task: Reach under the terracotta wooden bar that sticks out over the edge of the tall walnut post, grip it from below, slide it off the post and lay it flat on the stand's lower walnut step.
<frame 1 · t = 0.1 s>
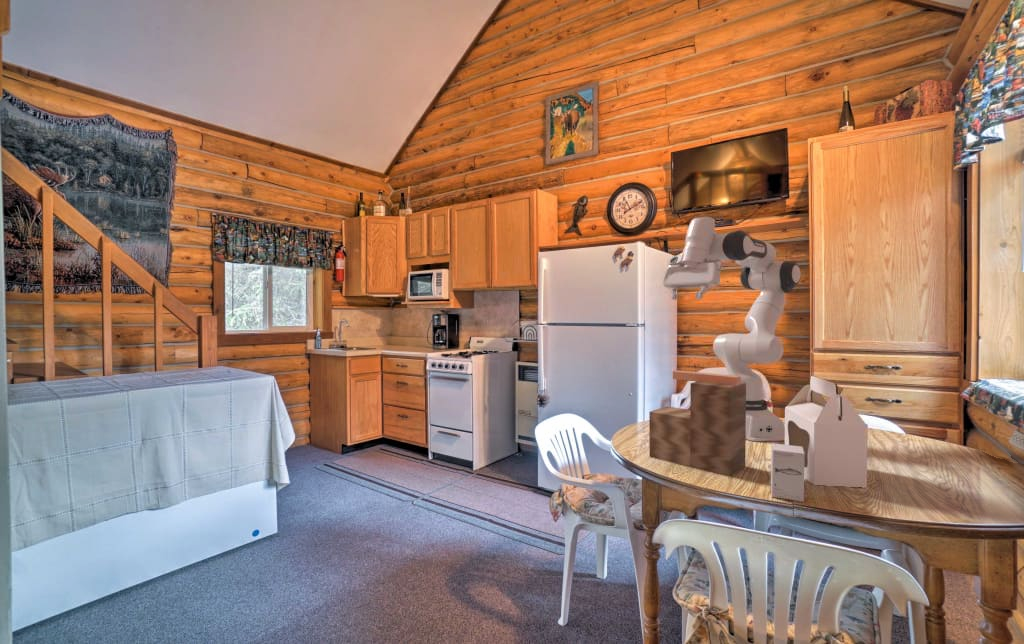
hand: (686, 299, 161), 52 cm above the table, tool tilted 20°, fingers open, 8 cm apart
stepped stand: (698, 462, 151), on the table
supplement box: (786, 496, 125), on the table
gable box: (822, 474, 141), on the table
bar: (705, 381, 149), point 26 cm above the table, touching stepped stand
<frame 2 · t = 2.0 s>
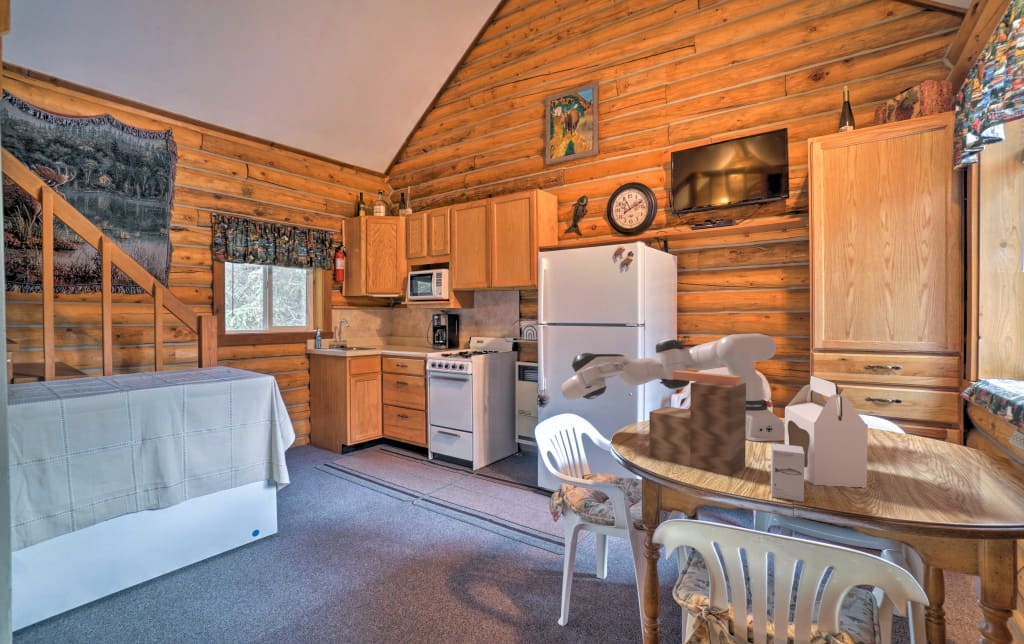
hand: (620, 363, 174), 29 cm above the table, tool pointing upward, fingers open, 8 cm apart
nothing on the table moved.
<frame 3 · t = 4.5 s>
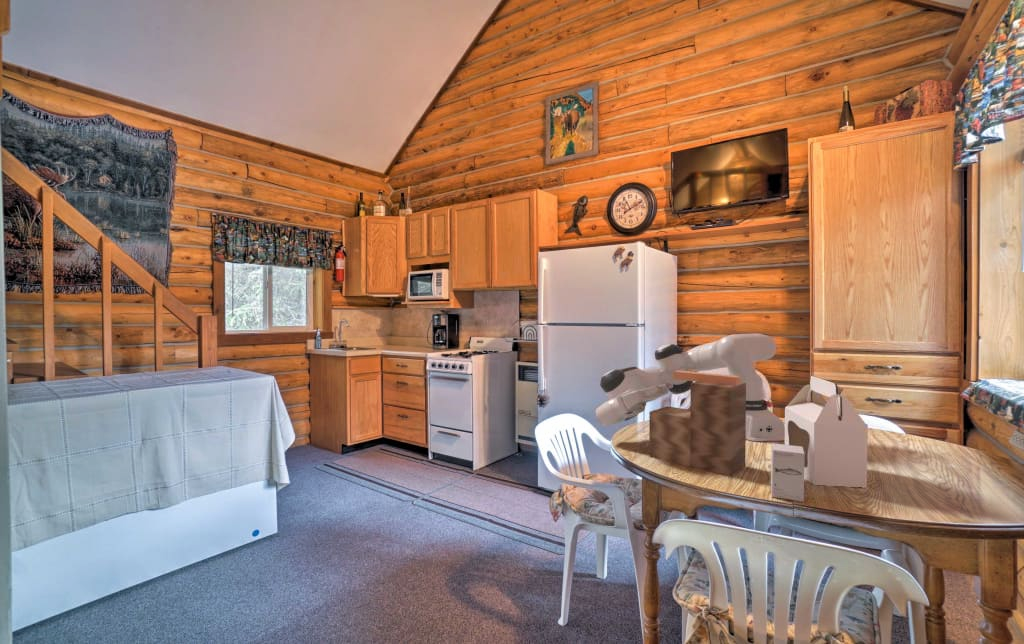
hand: (664, 386, 159), 23 cm above the table, tool pointing upward, fingers open, 8 cm apart
nothing on the table moved.
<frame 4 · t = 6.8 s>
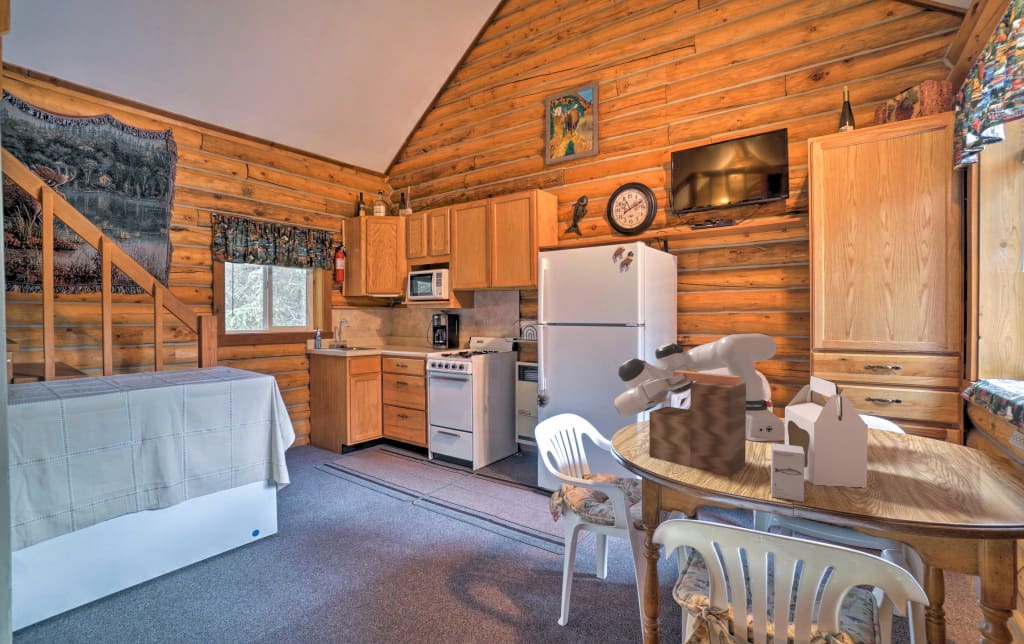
hand: (687, 374, 153), 28 cm above the table, tool pointing upward, fingers closed on bar, 3 cm apart
bar: (705, 381, 149), point 26 cm above the table, touching gripper
everything else where it was.
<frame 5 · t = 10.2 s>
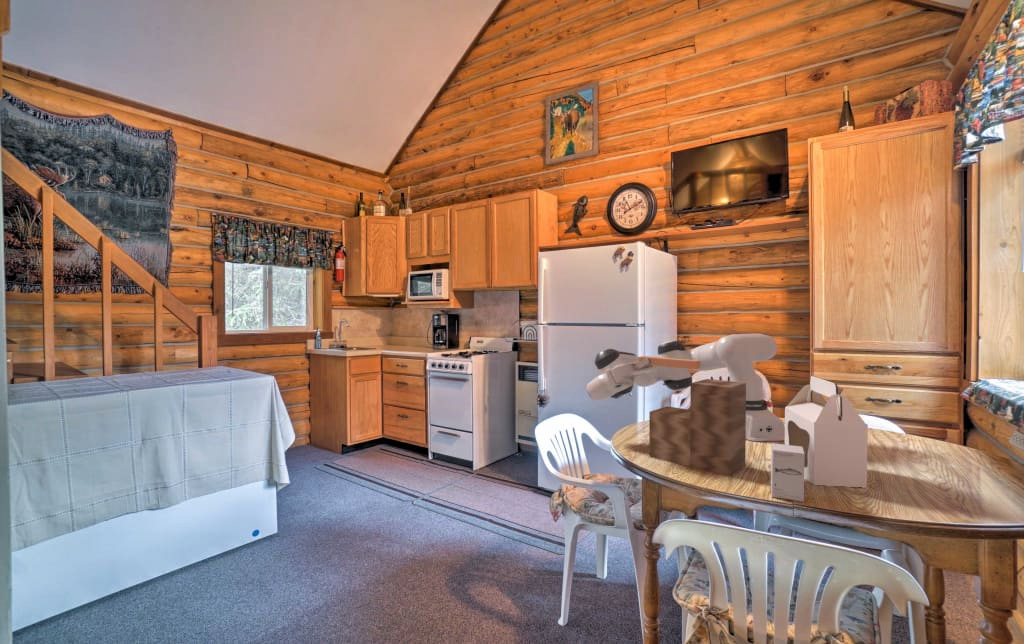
hand: (652, 359, 162), 32 cm above the table, tool pointing upward, fingers closed on bar, 3 cm apart
bar: (668, 366, 158), point 30 cm above the table, touching gripper
everything else where it was.
when the fingers open (19 cm above the table, at t = 13.4 s): bar drops 2 cm, resting on stepped stand.
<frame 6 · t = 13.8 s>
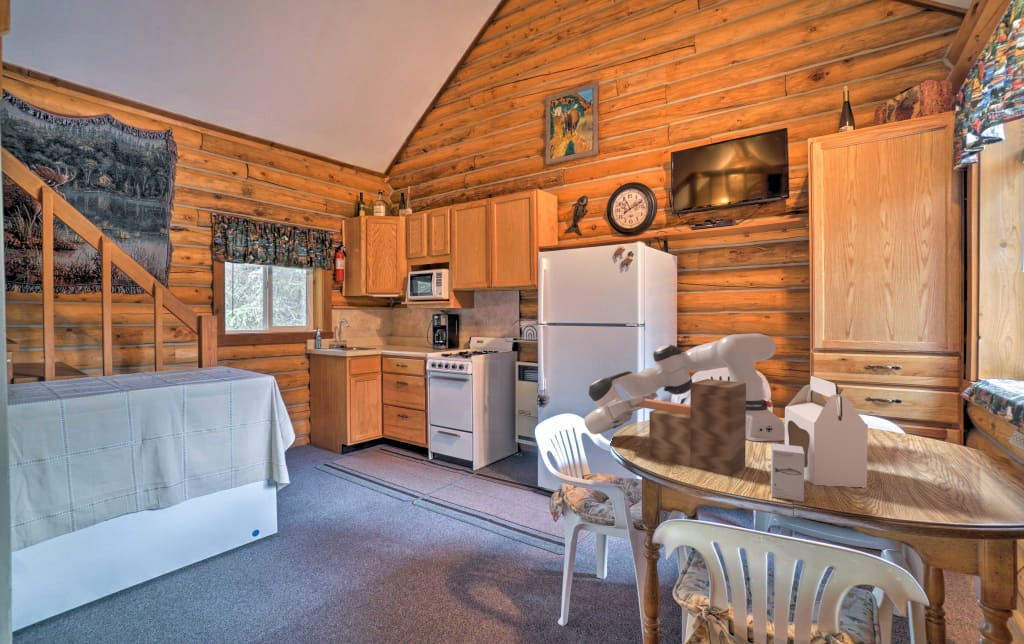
hand: (649, 396, 163), 19 cm above the table, tool pointing upward, fingers open, 7 cm apart
bar: (665, 409, 159), point 15 cm above the table, touching stepped stand
everything else where it was.
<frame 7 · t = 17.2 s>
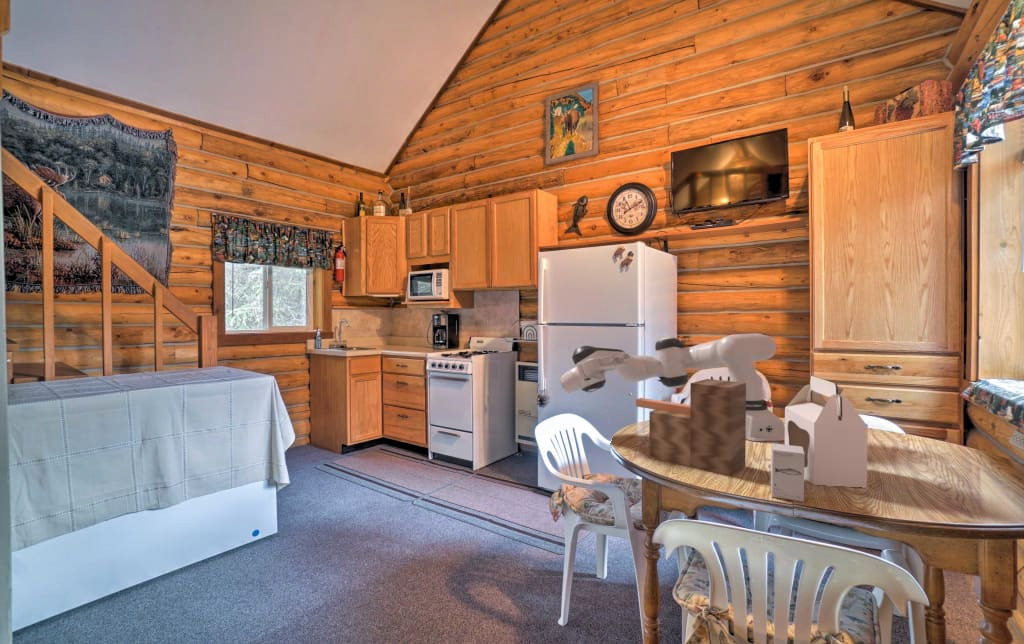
hand: (620, 356, 172), 32 cm above the table, tool pointing upward, fingers open, 8 cm apart
nothing on the table moved.
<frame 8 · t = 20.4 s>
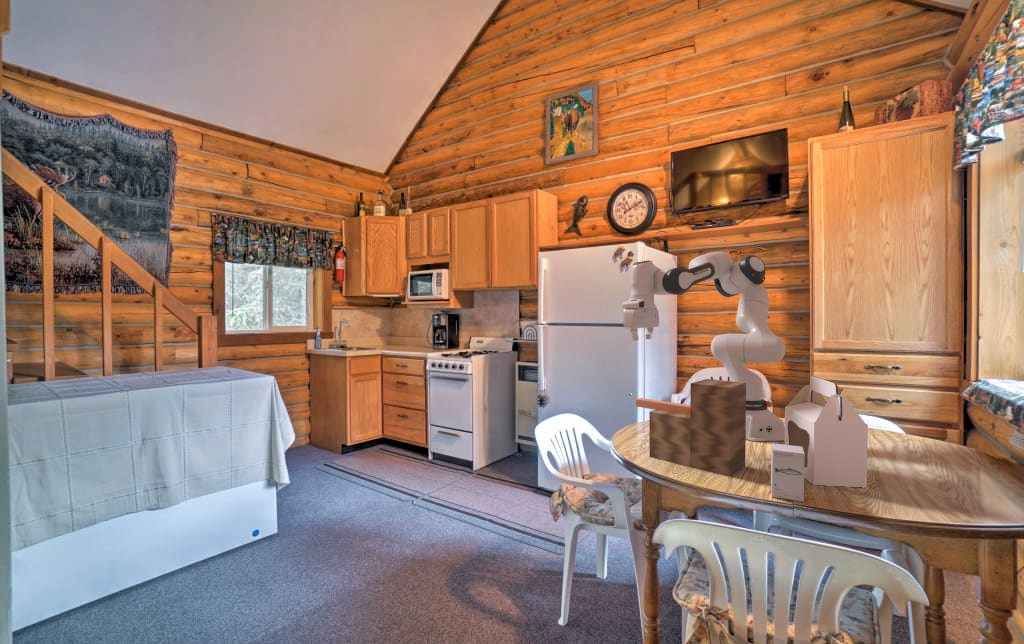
hand: (642, 339, 181), 37 cm above the table, tool pointing down, fingers open, 8 cm apart
nothing on the table moved.
at the end: bar inside the target area (0.1 cm from its centre), point 15.0 cm above the table; bar tilted 0°; the gripper is holding nothing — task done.
